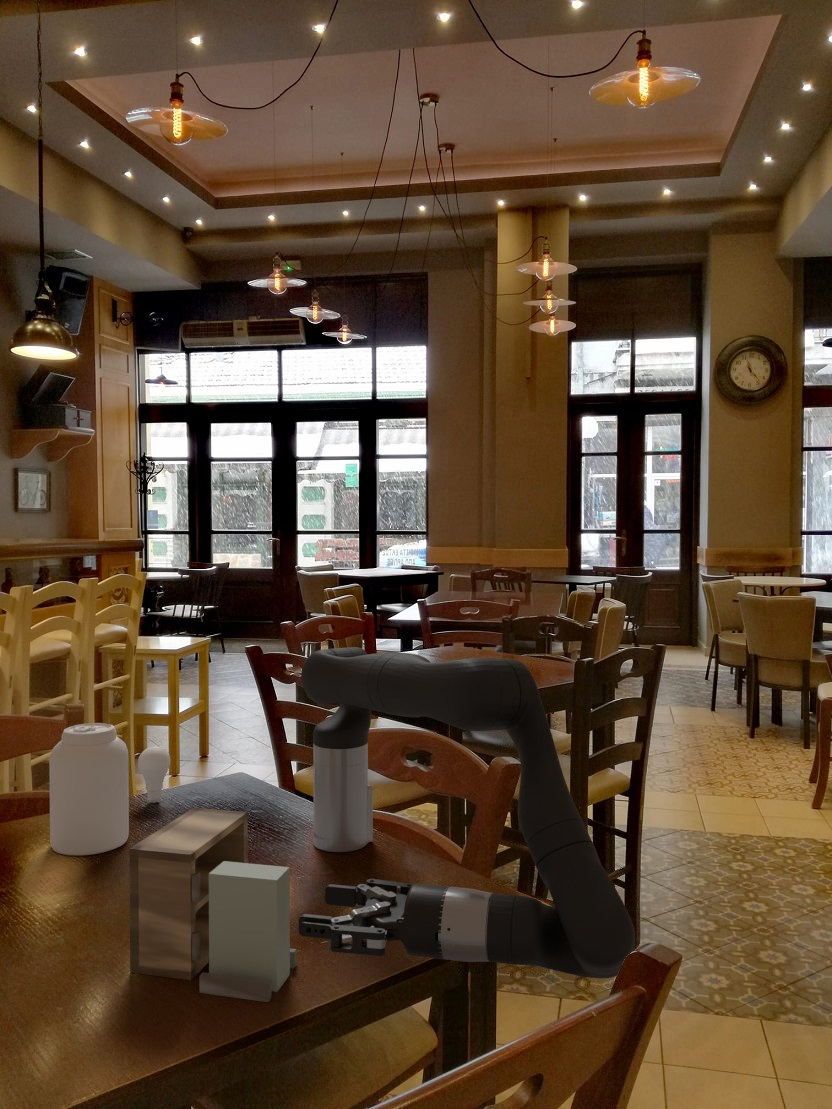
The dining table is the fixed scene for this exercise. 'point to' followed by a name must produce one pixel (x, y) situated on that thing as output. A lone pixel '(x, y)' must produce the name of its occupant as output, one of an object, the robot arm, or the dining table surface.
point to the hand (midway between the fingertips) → (313, 908)
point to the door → (250, 922)
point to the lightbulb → (154, 770)
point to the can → (89, 790)
